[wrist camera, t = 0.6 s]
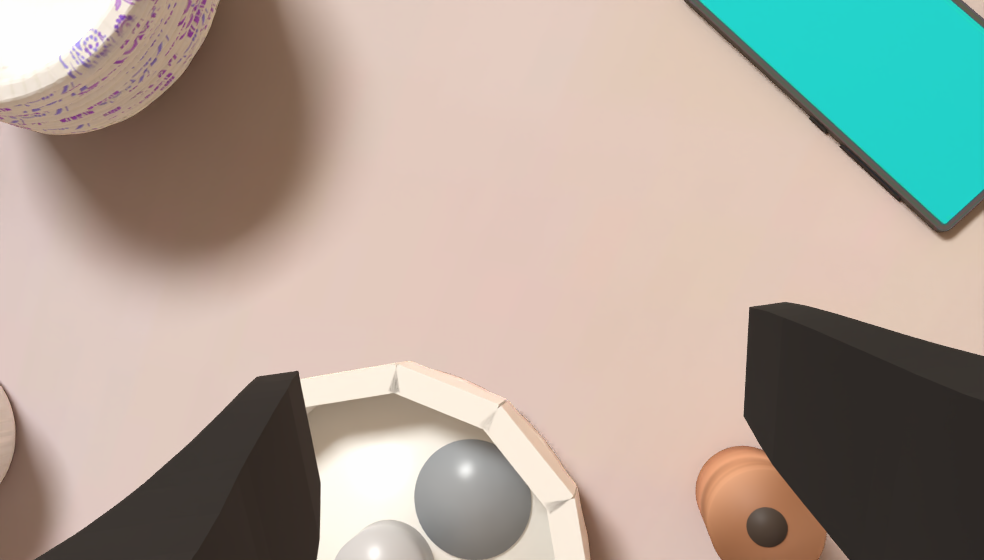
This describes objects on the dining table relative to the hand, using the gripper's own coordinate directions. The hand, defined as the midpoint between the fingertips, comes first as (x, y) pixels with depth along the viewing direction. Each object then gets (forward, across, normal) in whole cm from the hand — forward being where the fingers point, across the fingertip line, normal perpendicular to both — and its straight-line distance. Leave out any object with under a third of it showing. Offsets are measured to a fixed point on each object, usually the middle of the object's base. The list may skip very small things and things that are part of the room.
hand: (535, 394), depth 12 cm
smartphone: (+21, -19, -2) cm, 28 cm away
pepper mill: (+14, -11, +15) cm, 23 cm away
